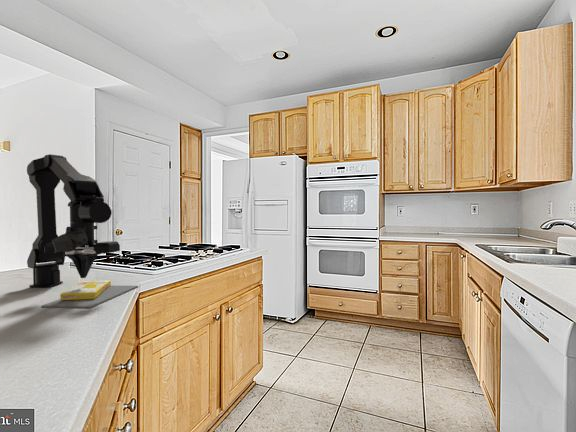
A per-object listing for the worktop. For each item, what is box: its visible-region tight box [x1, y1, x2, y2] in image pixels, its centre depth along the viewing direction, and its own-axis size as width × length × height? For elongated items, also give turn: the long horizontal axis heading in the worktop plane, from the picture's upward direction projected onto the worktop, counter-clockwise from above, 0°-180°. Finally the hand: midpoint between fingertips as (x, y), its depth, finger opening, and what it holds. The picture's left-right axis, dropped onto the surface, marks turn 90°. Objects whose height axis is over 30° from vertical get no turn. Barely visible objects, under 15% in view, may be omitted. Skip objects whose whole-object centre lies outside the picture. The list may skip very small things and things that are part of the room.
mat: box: [40, 284, 139, 309], centre depth 92 cm, size 13×22×1 cm, turn 176°
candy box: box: [59, 279, 112, 300], centre depth 94 cm, size 16×2×8 cm
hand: (83, 277), depth 92 cm, fingers closed
